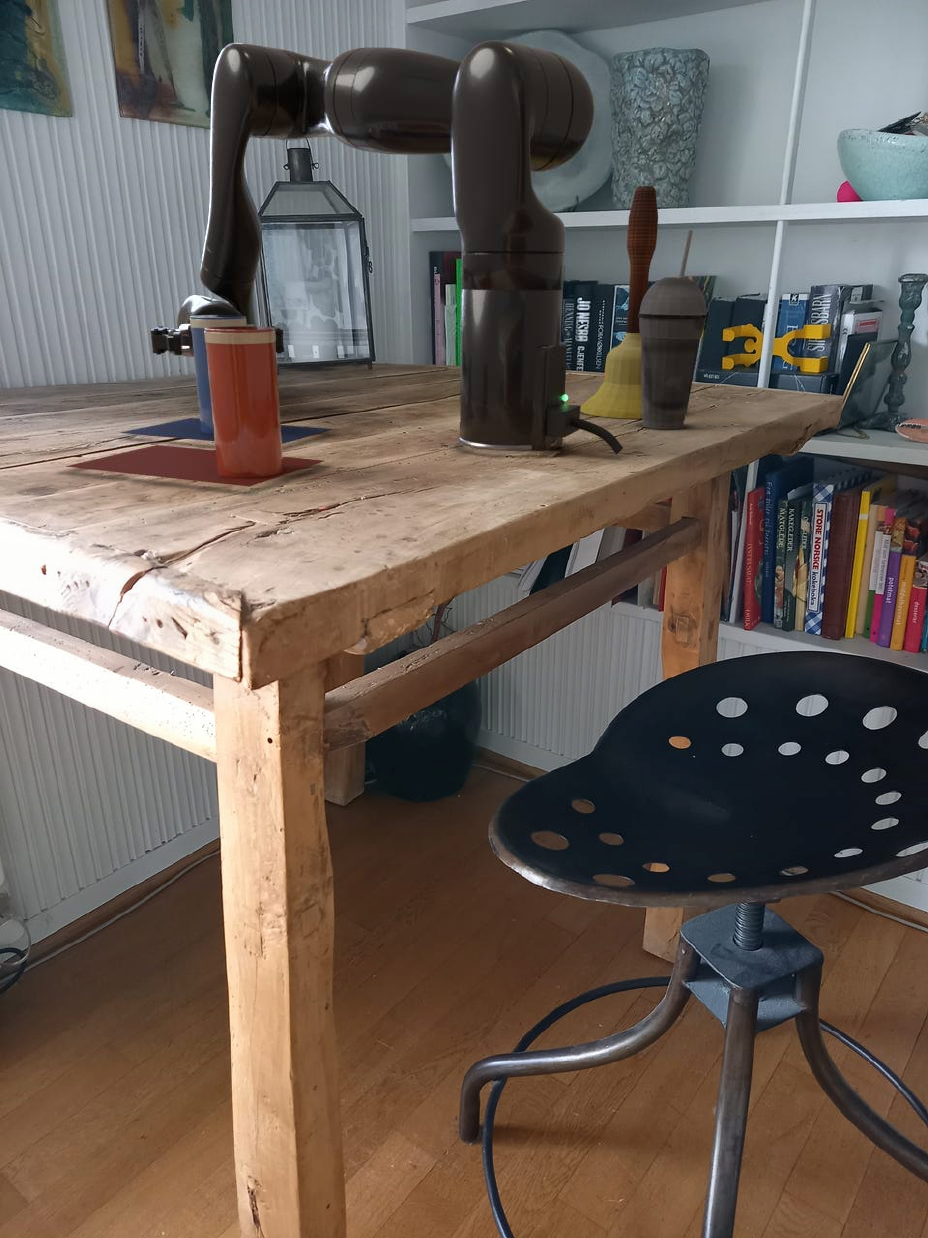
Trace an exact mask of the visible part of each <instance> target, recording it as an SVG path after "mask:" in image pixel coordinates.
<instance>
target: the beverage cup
mask: <svg viewBox="0 0 928 1238" xmlns="http://www.w3.org/2000/svg"><path fill="white" fill-rule="evenodd" d="M693 232H694V230H693V229H688V230H687V234H686V239H685V246H684V249H683V255H682V260H681V265H680V271H679V276H677V277H674V276H671V277H670V276H669V277H667V276H665V277H663V278H660V279H659V280H657V281H655V282H654V283H653V284H652V285H651V286H650V287H649V288H648V291H647V293H646V294H645V296H644V298H643V300H642V303H641V307H640V313H639V314H638V318H639V330H640V336H641V389H642V419H641V420H642V427H644V428H647V429H655V430H680V429H683V428H684V426H685V421H686V416H687V413H688V409H689V404H690V403H689V402H690V398H691V390H692V386H693V380H694V375H695V370H696V369H695V368H696V363H697V358H698V353H699V347H700V340H701V338H702V337H703V333H704V330H705V326H706V320H707V319H708V315H707V303H706V299H705V296H704V294H703V291H702V290H701V288H700V287H699V285H698V284H697V283H696V282H694V281H693V280H692V279H690V278H688V277H685V274H686V273H685V272H686V268H687V263H688V258H689V254H690V248H691V242H692V237H693Z"/></svg>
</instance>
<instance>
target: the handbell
mask: <svg viewBox="0 0 928 1238" xmlns="http://www.w3.org/2000/svg"><path fill="white" fill-rule="evenodd" d="M634 190H635V191H634V194H633V198H632V203H631V207H630V210H629V214H628V223H627V236H626V249H627V254H628V260H629V272H630V273H629V287H628V300H627V317H626V318H627V319H626V331H625V334H624V338H623V340H622V341H621V342H620V343H619V344H618V345H617V346H615V347H613V348H612V349H610V351H609V352H608V353H607V355H606V360H605V366H604V381H603V382H602V384H601V385H600V387H599V389H598V390H597V392H595V394H593V396H591V397H590V398H589V399H587V400H586V401H585V402H583V403H582V405H581V406H580V413H583V414H585V415H590V416H594V417H603V418H611V419H612V418H613V419H634V420H643V419H642V389H641V336H640V330H639V318H638V314H639V313H640V307H641V303H642V300H643V298H644V296H645V294H646V293H647V291H648V290H649V277H650V276H649V275H650V268H651V263H652V260H653V257H654V255H655V251H656V248H657V241H658V229H659V228H658V227H659V210H658V201H657V200H658V199H657V191H656V189H655V186H653V185H640V186H637V187H636V188H635V189H634Z"/></svg>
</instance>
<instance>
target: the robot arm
mask: <svg viewBox="0 0 928 1238" xmlns="http://www.w3.org/2000/svg"><path fill="white" fill-rule="evenodd" d="M210 100H211V102H210V103H211V104H210V109H211V110H210V141H209V143H210V144H209V145H210V146H209V162H210V164H209V177H210V178H209V206H208V207H209V210H208V220H207V225H206V226H207V227H206V231H205V238H204V244H203V250H202V257H201V263H200V269H199V277H200V281H201V283H202V285H203V286H204V288H206V289H207V290H208V291H209V292H211V293H213V294H214V295H216V296H218V297H219V298H221V299H222V300H224V301H222V300H218V299H215V298H214V299H213V298H211V297H208V296H203V295H200V294H193V295H190V296H188V297H187V298H185V299H184V301H183V303H182V304H181V306H180V308H179V311H178V314H177V321H176V325H177V329H176V328H170V327H164V325H159V326H157V327H154V328H152V329H150V339H151V340H150V341H151V348H152V349H151V350H152V354H156V355H157V356H159V355H162V354H165V353H166V352H168V353H169V354H171V355H173V356H183V357H189V358H194V353H193V342H192V332H191V327H190V316H199V315H239V316H245V318H246V325H247V326H257V325H256V316H255V315H256V314H255V308H254V307H255V306H254V291H255V289H254V288H255V283H256V282H255V281H256V276H257V271H258V267H259V262H260V258H261V253H262V247H263V227H262V222H261V218H260V215H259V212H258V210H257V206H256V204H255V202H254V199H253V196H252V193H251V191H250V188H249V185H248V182H247V180H248V179H247V177H246V171H245V158H246V152H247V147H248V143H249V140H250V138H252V139H266V140H278V141H287V142H288V141H300V140H308V139H313V138H315V139H316V138H329V137H330V138H331V137H333V138H336V139H337V141H338V142H340V143H342V144H343V145H344V146H347V147H348V148H351V149H355V150H359V151H363V152H369V153H375V154H376V153H377V154H385V155H401V156H402V155H404V156H423V155H424V156H429V155H431V156H433V155H448V154H449V155H450V156H451V159H450V160H451V178H452V180H451V182H452V183H451V184H452V203H453V204H452V207H453V212H454V213H453V214H454V219H455V222H456V225H457V228H458V231H459V235H460V245H461V250H460V252H461V254H460V255H461V261H460V262H461V263H460V264H461V265H460V266H461V267H460V277H461V279H460V284H461V285H460V288H461V290H460V379H459V380H460V381H459V382H460V387H459V390H460V392H459V397H460V398H459V399H460V400H459V402H460V403H459V405H460V409H459V410H460V412H459V413H460V417H459V418H460V419H459V420H460V421H459V436H458V442H459V444H460V445H462V446H464V447H467V448H471V449H477V450H485V451H496V452H497V451H498V452H526V451H527V452H528V451H529V452H530V451H535V452H536V451H537V452H545V451H548V450H552V451H553V450H556V449H557V448H559V447H561V446H563V443H564V441H563V440H564V438H566V437H569V436H570V435H572V434H574V433H576V432H578V431H580V430H582V431H583V432H587V433H591V434H593V435H595V436H597V437H598V438H600V439H601V440H603V441H604V442H605V443H606V444H607V445H608V446H609V448H610V449H611V450H612V451H613V453H614V454H615V455H617V454H620V452H621V451H623V449H624V446H622V444H621V443H620V442H619V440H618V439H617V438H616V437H615V436H614V434H612V433H611V432H610V431H609V430H608V429H606V428H604V427H603V426H600V425H598V424H596V423H593V422H590V421H587V420H584V419H582V418H580V416H581V411H580V408H581V405H579V404H565V402H567V400H568V399H569V396H568V395H567V394H566V379H567V378H566V377H567V357H568V356H567V354H568V345H567V343H566V342H563V341H562V340H561V339H562V319H563V318H562V315H563V297H564V295H563V293H564V291H563V289H564V271H565V253H566V251H565V250H566V228H565V223H564V221H563V220H562V219H561V218H560V217H559V216H558V215H556V214H555V213H553V212H552V211H551V210H550V209H548V208H547V206H546V205H545V204H544V203H543V202H542V201H541V199H540V198H539V197H538V195H537V193H536V191H535V188H534V185H533V179H532V173H543V172H544V173H545V172H547V171H552V170H555V169H557V168H560V167H562V166H563V165H565V164H567V163H568V162H569V161H570V160H572V159H574V157H575V156H576V155H577V154H578V153H579V152H580V151H581V150H582V149H583V147H584V145H585V144H586V142H587V141H588V138H589V136H590V134H591V131H592V129H593V125H594V121H595V114H596V113H595V112H596V110H595V108H596V106H595V100H594V95H593V92H592V89H591V85H590V83H589V82H588V79H587V77H586V76H585V75H584V73H583V72H582V71H581V69H580V68H579V67H578V66H577V65H576V64H574V63H573V62H572V61H570V60H569V59H568V58H567V57H565V56H563V55H561V54H558V53H557V52H554V51H550V50H545V49H542V48H537V47H533V46H528V45H524V44H520V43H515V42H510V41H506V40H499V39H496V40H495V39H494V40H493V39H491V40H486V41H482V42H480V43H478V44H476V45H475V46H474V47H472V48H471V49H470V51H469V52H467V54H466V55H465V56H464V58H463V60H457V59H454V58H451V57H446V56H442V55H437V54H434V53H429V52H424V51H419V50H415V49H408V48H407V49H406V48H401V47H400V48H399V47H383V46H381V47H379V46H378V47H374V46H373V47H357V48H353V49H349V50H346V51H344V52H342V53H341V54H338V56H336V57H335V58H334V59H333V60H327V59H326V60H325V59H321V58H316V57H312V56H309V55H306V54H302V53H299V52H295V51H292V50H287V49H282V48H276V47H270V46H263V45H255V44H251V43H244V42H232V43H229V44H227V45H226V46H225V47H224V48H222V50H221V52H220V54H219V55H218V57H217V60H216V62H215V67H214V71H213V79H212V87H211V99H210ZM269 327H273V328H275V333H276V342H275V343H276V354H282V353H285V346H284V345H285V344H284V329H283V328H280V327H278V326H275V325H270V326H269Z"/></svg>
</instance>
